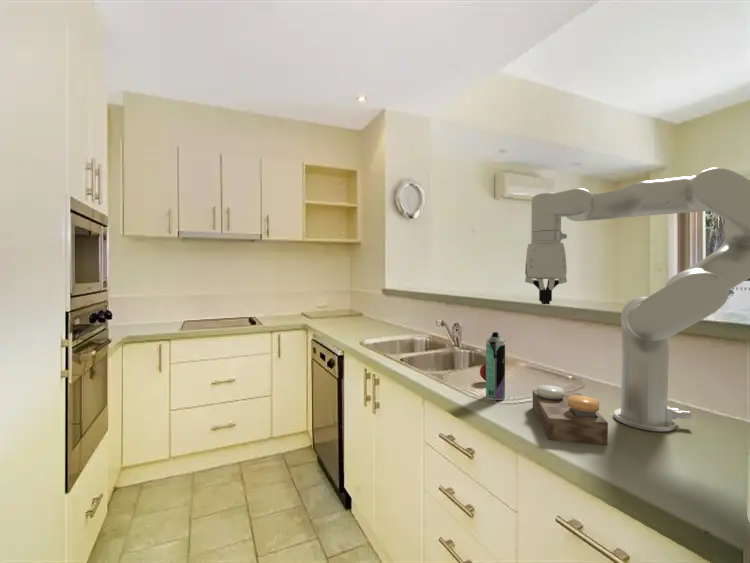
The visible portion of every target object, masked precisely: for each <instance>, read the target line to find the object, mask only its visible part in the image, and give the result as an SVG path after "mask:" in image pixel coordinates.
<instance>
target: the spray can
mask: <svg viewBox="0 0 750 563" xmlns="http://www.w3.org/2000/svg"><path fill="white" fill-rule="evenodd" d="M505 342H506V341H505V340H504V339H503V338H502V337H501V336H500V334H499V332H498V331H494V332H492V335H490V337H489V338H487V339H486V340H485V363H486V381H485V398H486V397H487V398H489V399H492V400H503V401H505V400H506V343H505ZM487 398H486V399H487ZM489 399H488V400H489ZM504 399H505V400H504ZM492 400H491V401H492Z"/></svg>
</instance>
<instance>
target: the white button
mask: <svg viewBox="0 0 750 563" xmlns="http://www.w3.org/2000/svg"><path fill="white" fill-rule="evenodd" d="M536 390H537V394H538V395H539V396H541V398H542V400H556V401H561V399H562V398H564V392H565V390H564V389H563V388H562V387H560V386H556V385H551V384H549V385H548V384H541V385H537V387H536Z"/></svg>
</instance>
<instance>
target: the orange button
mask: <svg viewBox="0 0 750 563" xmlns="http://www.w3.org/2000/svg"><path fill="white" fill-rule="evenodd" d="M568 406H569V407H571V412H572V413H573V415H574V416H580V417H593V418H596V411H597V412H598V411H599V410H600V401H599V400H598V399H596V398H593V397H591V396H586V395H582V396H580V395H573V396H569V397H568Z"/></svg>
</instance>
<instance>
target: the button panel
mask: <svg viewBox="0 0 750 563" xmlns="http://www.w3.org/2000/svg"><path fill="white" fill-rule="evenodd" d="M573 395H580V396H583V395H582V394H581V393H580V392H567V391H566V392H565V391H564V398H562V399H561V401H556V400H542V398H541V396H539V395H538V394H537V389H536V390H535V389H532V409H533V411H534V413H535V415H536V418H537V420H538V421H539V424H540V425H541V427H542V429H543V431H544V433H545V435H546V437H547V439H548V440H549V441H557V440H558V441H560V442H568V443H569V442H570V443H580V444H590V445H591V444H592V445H602V446H603V445H604V446H608V444H609V442H608V441H609V440H608V439H609V423H608V421H607V420H606V419H605V417H603V416H602V414H600V412H598V411H596V418H593V417H580V416H574V415H573V413H572V412H571V407H569V406H568V397H569V396H573Z"/></svg>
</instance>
